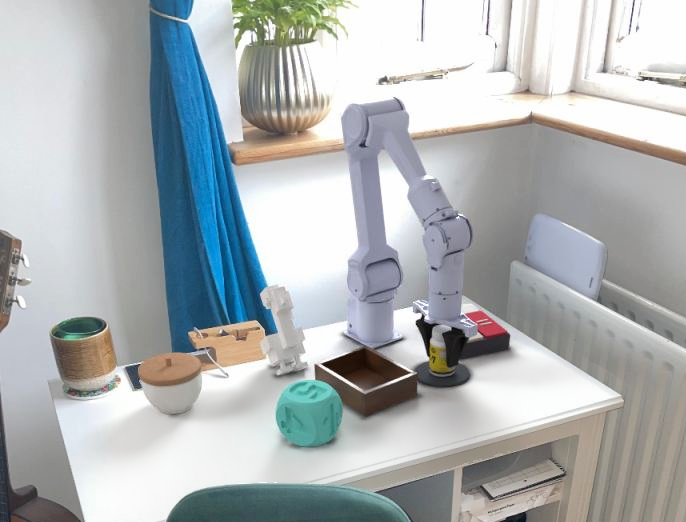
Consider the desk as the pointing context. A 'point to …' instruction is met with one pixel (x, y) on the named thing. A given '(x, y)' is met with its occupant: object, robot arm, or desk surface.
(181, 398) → the trinket box
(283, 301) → the voxel character
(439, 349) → the supplement bottle
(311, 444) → the decorative dice
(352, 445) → the desk surface
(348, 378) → the box
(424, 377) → the coaster
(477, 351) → the calculator
